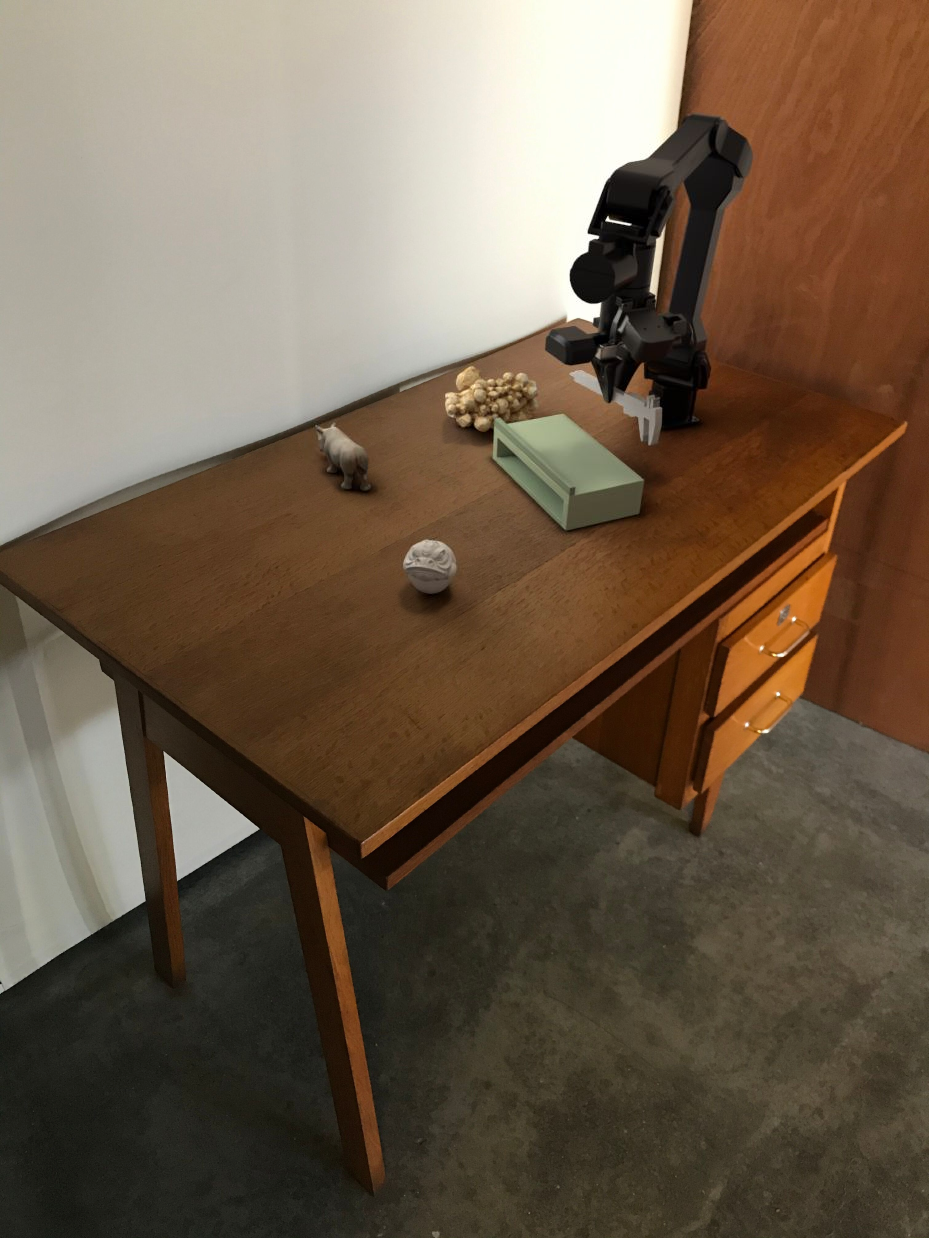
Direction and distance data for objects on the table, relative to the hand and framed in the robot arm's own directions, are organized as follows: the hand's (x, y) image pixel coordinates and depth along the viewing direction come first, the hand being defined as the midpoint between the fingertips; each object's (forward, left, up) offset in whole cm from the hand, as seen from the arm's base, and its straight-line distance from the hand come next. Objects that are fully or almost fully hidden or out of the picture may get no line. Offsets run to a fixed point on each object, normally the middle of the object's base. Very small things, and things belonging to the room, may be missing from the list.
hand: (611, 401), depth 131 cm
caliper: (0, 0, -2) cm, 2 cm away
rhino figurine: (+33, -15, -12) cm, 38 cm away
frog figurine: (+33, +16, -12) cm, 38 cm away
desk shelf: (+6, 0, -11) cm, 13 cm away
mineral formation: (+9, -21, -11) cm, 26 cm away
